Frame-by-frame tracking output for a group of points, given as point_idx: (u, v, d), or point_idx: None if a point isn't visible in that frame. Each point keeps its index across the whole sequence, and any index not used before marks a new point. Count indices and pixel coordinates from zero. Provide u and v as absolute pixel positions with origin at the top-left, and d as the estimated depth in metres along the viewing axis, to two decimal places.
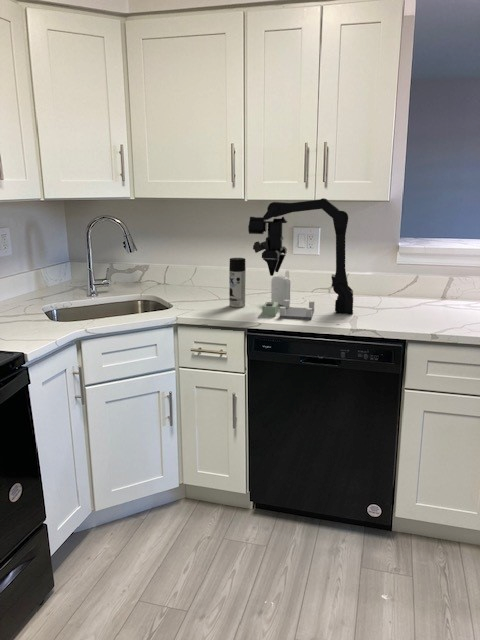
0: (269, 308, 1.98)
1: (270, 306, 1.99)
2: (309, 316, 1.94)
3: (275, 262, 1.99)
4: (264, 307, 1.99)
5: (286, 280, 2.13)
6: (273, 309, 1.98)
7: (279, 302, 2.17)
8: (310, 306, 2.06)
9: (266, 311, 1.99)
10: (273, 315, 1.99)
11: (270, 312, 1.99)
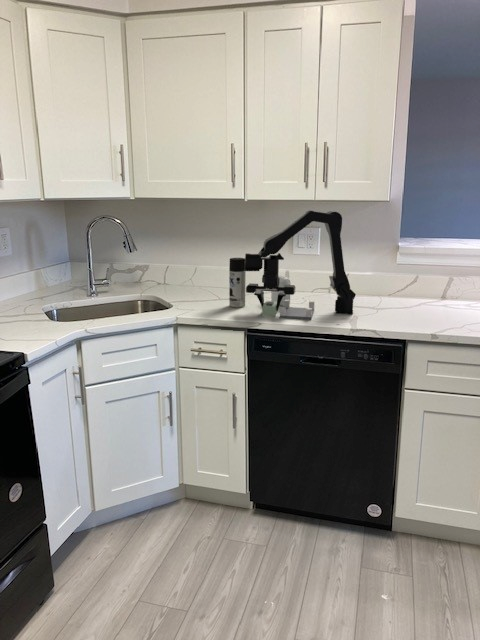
0: (269, 307, 1.98)
1: (270, 305, 1.99)
2: (309, 316, 1.94)
3: None
4: (264, 306, 1.99)
5: (286, 280, 2.13)
6: (273, 308, 1.98)
7: None
8: (310, 306, 2.06)
9: (266, 310, 1.99)
10: (273, 314, 1.99)
11: (270, 311, 1.99)
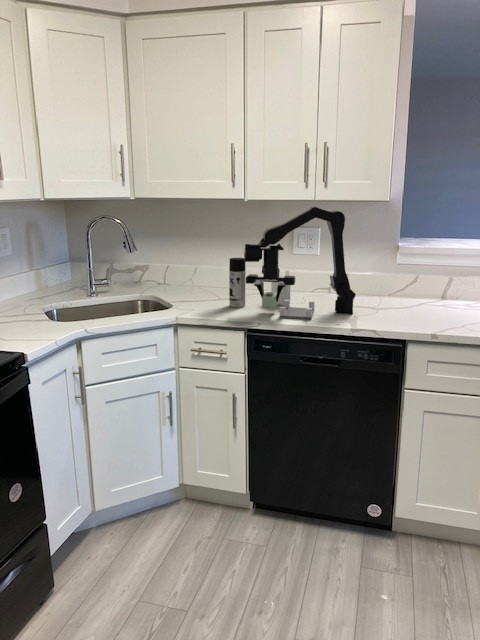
0: (269, 298, 1.97)
1: (270, 296, 1.98)
2: (309, 316, 1.94)
3: None
4: (264, 297, 1.98)
5: None
6: (273, 299, 1.97)
7: (279, 302, 2.17)
8: (310, 306, 2.06)
9: (266, 301, 1.98)
10: (273, 305, 1.98)
11: (270, 302, 1.98)
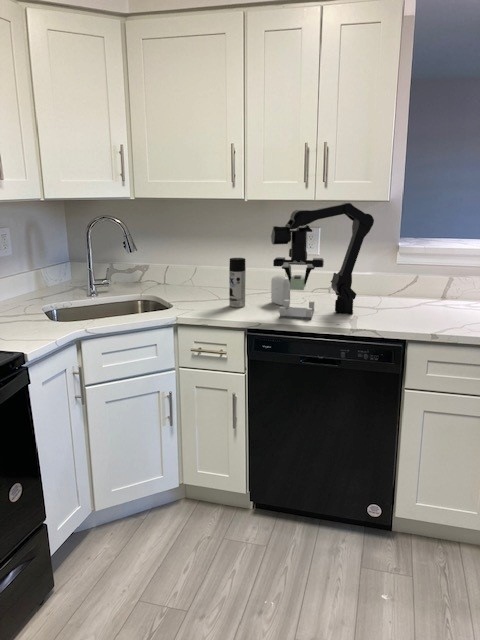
0: (297, 281, 1.95)
1: (298, 279, 1.95)
2: (309, 316, 1.94)
3: None
4: (292, 280, 1.95)
5: (286, 280, 2.13)
6: (301, 282, 1.94)
7: (279, 302, 2.17)
8: (310, 306, 2.06)
9: (294, 284, 1.95)
10: (301, 288, 1.95)
11: (298, 285, 1.95)
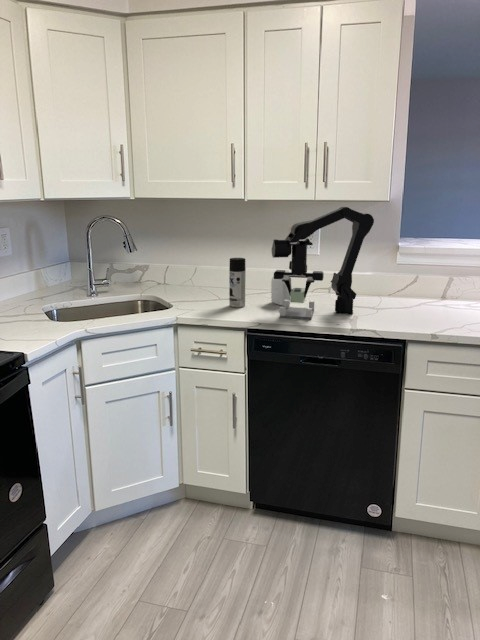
0: (297, 294, 1.96)
1: (298, 292, 1.96)
2: (309, 316, 1.94)
3: None
4: (292, 293, 1.96)
5: None
6: (301, 295, 1.95)
7: (279, 302, 2.17)
8: (310, 306, 2.06)
9: (294, 297, 1.96)
10: (301, 301, 1.96)
11: (298, 298, 1.96)
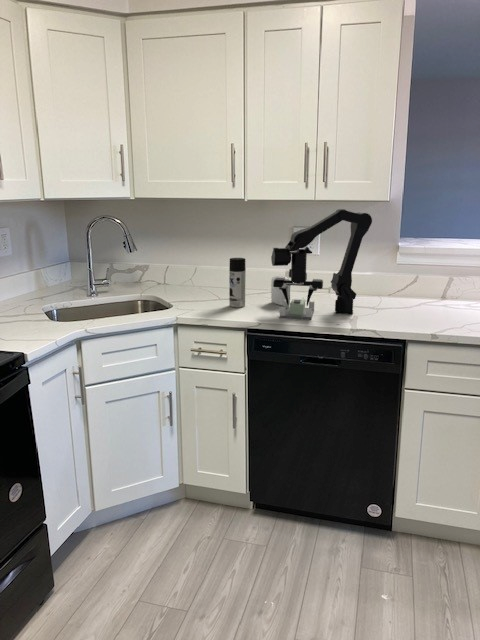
0: (297, 305, 1.97)
1: (298, 303, 1.97)
2: (309, 316, 1.94)
3: None
4: (292, 304, 1.97)
5: None
6: (301, 306, 1.97)
7: (279, 302, 2.17)
8: (310, 306, 2.06)
9: (294, 308, 1.97)
10: (301, 313, 1.97)
11: (298, 309, 1.97)
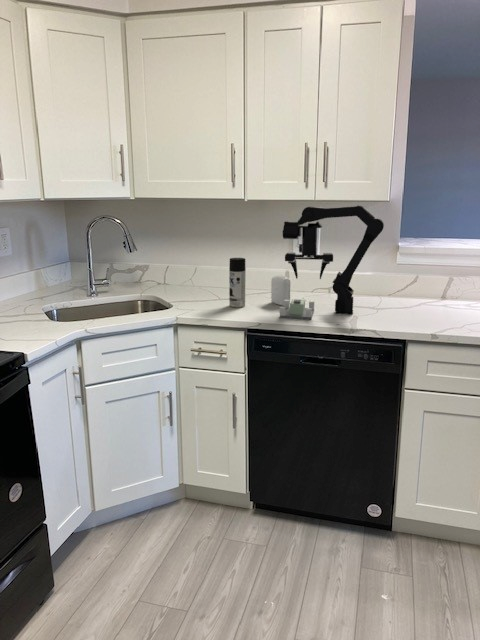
0: (297, 305, 1.97)
1: (298, 303, 1.97)
2: (309, 316, 1.94)
3: None
4: (292, 304, 1.97)
5: (286, 280, 2.13)
6: (301, 306, 1.97)
7: (279, 302, 2.17)
8: (310, 306, 2.06)
9: (294, 308, 1.97)
10: (301, 313, 1.97)
11: (298, 309, 1.97)
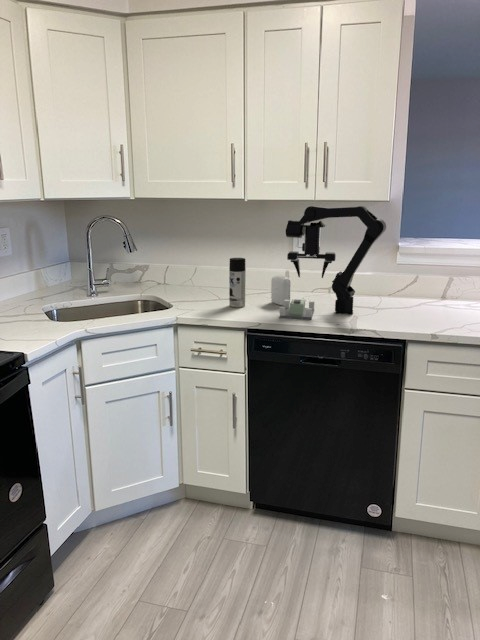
0: (297, 305, 1.97)
1: (298, 303, 1.97)
2: (309, 316, 1.94)
3: None
4: (292, 304, 1.97)
5: (286, 280, 2.13)
6: (301, 306, 1.97)
7: (279, 302, 2.17)
8: (310, 306, 2.06)
9: (294, 308, 1.97)
10: (301, 313, 1.97)
11: (298, 309, 1.97)
